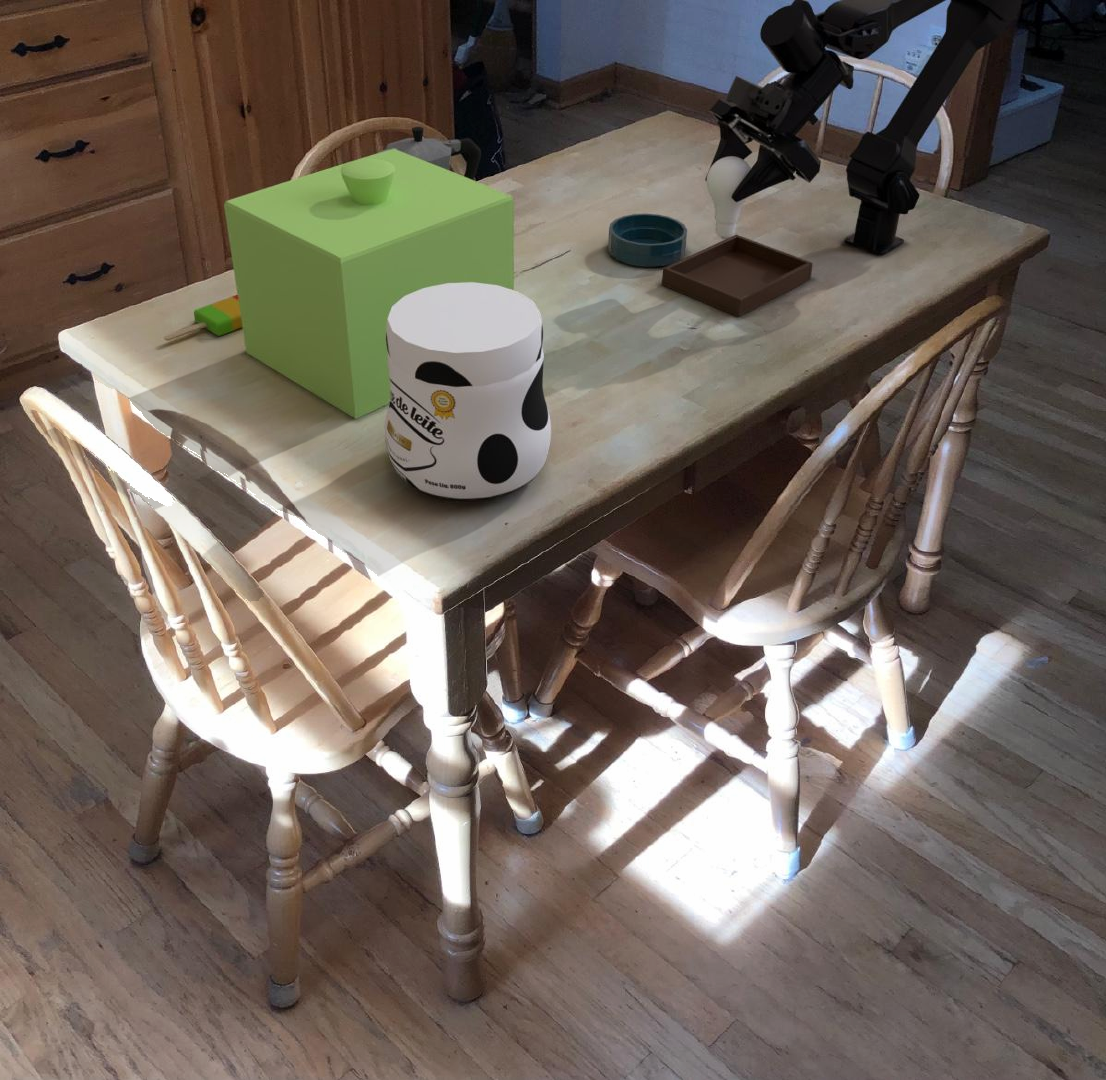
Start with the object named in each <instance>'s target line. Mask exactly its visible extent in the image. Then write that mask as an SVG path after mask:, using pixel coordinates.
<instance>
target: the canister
mask: <svg viewBox="0 0 1106 1080" xmlns="http://www.w3.org/2000/svg"><path fill="white" fill-rule="evenodd" d="M379 152H380V151H379ZM514 201H515V199H514V198H513V195H512V194H509V193H506V192H502V191H500V190H498V189H495V188H493V187H490V186H488V185H486V184H483V183H481V182H478V181H476V180H475V179H474V180H471V179H469V178H466V177H464V175H461V174H459V173H456V172H454V171H452V170H450V169H449V170H446V169H444V168H441V167H439V166H436V165H434V164H431V163H429V162H426V161H424V160H421V159H419V158H416V157H413V156H411V155H408V154H406V153H403V152H401V151H399V150H397V149H391V150H387V151H384V152H380V153H377V152H376V153H373V154H371V155H368V156H364V157H360V158H357V159H354V160H352V161H348V162H345V163H342V164H339V165H335V166H332V167H329V168H326V169H322V170H320V171H316V172H313V173H310V174H307V175H303V176H299V177H297V178H294V179H290V180H288V181H284V182H281V183H278V184H275V185H271V186H269V187H265V188H262V189H259V190H257V191H256V190H255V191H252V192H250V193H247V194H244V195H240V196H238V197H234V198H230V199H229V200H226V201H225V202H224V204H223V208H224V215H225V221H226V228H227V229H226V230H227V234H228V241H229V247H230V248H229V249H230V253H231V254H230V255H231V261H232V267H233V268H232V269H233V274H234V280H235V286H236V293H237V294H236V295H238V301H239V307H240V314H241V320H242V327H241V328H242V332H243V333H242V334H243V340H244V345H245V346H244V347H245V352H246V354H247V355H249V356H251V357H252V358H254V359H256V360H257V361H259V362H261V363H262V364H264V365H266V366H268V367H269V368H271V369H272V370H274V371H275V372H278V373H279V374H281V375H283V376H284V377H285V378H288V379H289V380H291V381H293V382H294V383H296V384H297V385H299V386H301V387H302V388H304V389H306V390H307V391H309V392H310V393H312V394H314V395H315V396H317V397H318V398H320V399H322V400H324V401H325V402H327V403H329V404H330V405H332V406H334V407H335V408H337V409H339V410H340V411H342V412H344V413H345V414H347V415H349V416H350V417H352V418H354V419H356V420H357V419H359V418H360V417H363V416H366V415H367V414H369V413H372V412H374V411H376V410H378V409H381V408H383V407H384V406H386V405H389V401H390V395H391V387H390V376H389V368H388V350H387V345H386V326H387V319H388V316H389V313H390V311H391V308H392V306H393V305H395V304H396V303H397V302H398V301H399V300H400V299H402V298H403V297H404V296H406V295H408V294H411V293H413V292H415V291H418V290H420V289H423V288H426V287H431V286H436V285H441V284H446V283H467V282H475V283H483V284H491V285H498V286H501V287H505V288H508V289H511V290H514V291H515V268H514V267H515V236H514V235H515V211H514V210H515V207H514V206H515V202H514Z"/></svg>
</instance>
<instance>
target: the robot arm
mask: <svg viewBox="0 0 1106 1080" xmlns="http://www.w3.org/2000/svg"><path fill="white" fill-rule="evenodd" d="M949 1H950V2H949V4H948V6H947V8H946V17H945V30H944V34H943V36H942V37H941V39H940V40H939V42H938V44H937V45H936V46H935V48H934V50H933V52H932V53H931V54H930V56H929V58H928V59H927V61H926V62H925V64H924V65H923V67H922V69H921V70H920V72H919V74H918V75H917V77H916V79H915V80H914V81H913V84H912V85H911V87H910V88H909V90H908V91H907V93H906V95H905V96H904V98H903V99H902V101H901V102H900V104H899V106H898V107H897V109H896V110H895V113H894V114H893V116H892V117H891V119H890V120H889V121H888V124H887V125H886V126H885V127H884V128H883V129H881V130H879V131H878V132H876V133H873V132H871V131H866V132H865V133H864V134H863V135H862V136H861V139H860V140H859V142H858V144H857V145H856V147H855V149H854V150H853V152H851V153H850V155H849V158H850V159H849V161H848V163H847V165H846V168H845V172H846V181H847V187H848V195H849V196H850V197H851V198H855V199H857V200H859V201H860V204H859V208H858V213H857V218H856V225H855V229H854V233H853V234H850V235H849V236H847V237H844V238H843V242H844V243H845V244H847V245H850V246H853V247H856V248H859V249H862V250H864V251H867V252H870V253H873V254H875V255H879V256H883V255H885V254H886V253H888V252H891V251H892V250H894V249H895V248H898V247H900V246H901V245H903V244H905V239H904V238H901V237H899V236H897V231H898V225H899V220H900V215H908V214H909V211H912V210H914V209H915V207H916V206H917V203H918V201H919V199H920V193H919V191H918V189H917V188H916V187H915V185H914V184H913V182H912V181H911V178H912V177H913V174H914V172H915V170H916V162H917V147H918V145H919V143H920V142H921V140H922V138H923V137H924V135H925V133H926V132H927V130H928V129H929V127H930V125H931V124H932V122H933V121H934V119H935V117H937V115H938V113H939V111H940V110H941V108H942V106H943V105H944V103H945V102H946V100H947V99H948V97H949V96H950V94H951V92H952V91H953V89H954V88H955V86H956V84H957V83H958V81H959V80H960V78H961V77H962V75H963V73H964V72H965V70H966V69H967V67H968V65H969V64H970V62H971V61H972V59H973V57H974V56H975V54H976V53H977V52H978V51H980V49H982V48H984V47H986V46H987V45H988V44H990V43H992V42H993V41H995V40H997V39H998V38H1000V36H1001V35H1002V34H1003V32H1005V30H1006V29H1007V28H1008V27H1009V25H1010V24H1011V22H1012V21H1013V20H1014V18H1016V16H1017V14H1018V12H1019V10H1020V7H1021V2H1022V1H1021V0H949ZM943 2H946V0H838V1H835V2H833V3H831V4H830V5H828V7H827V8H826V9H825V10H824V11H821V12H819V13H817V14H815V12H814V10H813V9H814V8H813V7H812V6H811V4H810V2H809V0H793V1H792V3H791V4H789V5H786V6H782V7H780V8H779V9H777V10H776V11H774V12H773V13H772V14H769V15H767V17H766V19H765V20H764V22H763V23H762V25H761V28H760V33H759V35H760V36H759V37H760V40H761V42H762V43H763V44H764V46H765V47H766V48H767V50H768V51H769V52H770V54H771V55H772V57H773V58H774V59H775V60H776V62H777V63H778V65H779V66H780V67H781V69H782V70H783V71H784V72H786V73H788V75H787V76H786V77H785V78H784V80H783V81H782V82H781V83H780V82H778V81H777V80H774V81H771V82H767V83H765V84H764V85H763V86H761V85H759V84H757V83H754V82H751V81H749V80H747V79H744V78H743V77H740V76H737V75H735V77H734V79H733V81H732V84H731V85H730V88H729V90H728V92H727V94H726V96H725V97H724V98H719V99H718V100H716V102H715V103H714V104H713V106H712V107H711V108H710V109H709V113H710V114H711V115H712V116H713V117H714V119H716V120H717V122H716V125H717V126H718V127H719V134H720V135H719V137H720V138H719V142H718V145H717V149H716V151H715V155H714V157H713V159H712V161H711V164H710V166H709V169H708V170H707V174H706V176H705V179H704V180H705V182H706V181H707V175H708V172H709V170H710V168H711V167H712V165H713V164H714V163H715V162H716V161H718V160H720V159H722V158H724V157H728V156H734V157H738V158H741V159H743V160H744V161H745V160H746V159H747V158H748V157H749V156H750V155H752V154H753V151H752V150H751V149H750V148H749V146H747V144H749V143H751V142H753V141H755V142H757V143H758V144H759V147H758V153H757V158H756V161H755V163H754V164H753V165H752V167H751V169H750V171H749V172H748V173H747V175H746V176H745V177H744V179H743V180H742V181H741V183H740V184H739V185H738V187H737V188H736V190H735V191H734V193H733V195H732V196H731V198H732V199H733V200H734V201H735V202H739V201H741V200H743V199H745V198H747V199H748V198H750V197H751V196H753V195H756V194H757V193H758V194H759V193H760V192H762V191H764V190H766V189H769V188H771V187H774V186H776V185H779V184H781V183H784V182H786V181H789V180H791V181H795V180H796V176H797V177H799V178H800V179H802V180H804V181H806V182H807V183H809V184H811V182H812V181H813V180H814V178H816V176H817V175H818V174H819V173H820V171H821V164H822V161H821V159H820V158H819V157H818V155H816V153H815V152H814V151H813V149H812V148H811V147H810V146H809V145H808V144H807V142H806V141H805V140H804V139H802V138H800V137H799V136H797V135H798V134H799V132H800V131H802V129H803V128H804V127H805V126H806V124H809V125H811V126H815V124H816V123H817V122H818V121H819V118H818V117H817V116H816V112H817V111H818V110H819V109H820V108H821V107H822V105H823V104H824V103H825V102H826V101H827V99H828V98H829V97H830V96H831V95H832V94H833V93H834V91H835V90H836V89H837V87H839V85H840V86H842V87H844V88H846V89H848V90H852V89H853V88H854V82H855V81H854V79H855V78H854V70H855V66H854V65H852V64H850V63H848V62H846V61H842V59H841V58H840V56H839V55H838V54H837V53H840V54H842V55H845V56H848V57H851V58H853V59H856V60H865V59H867V58H869V57H870V56H872V55H874V53H876V52H877V51H878V50H880V49H881V48H882V47H884V46H885V45H886V44H887V43H888V42H889V41H890V38H891V36H892V33H893V31H895V30H896V29H897V28H899V27H900V26H902V25H904V24H905V23H907V22H909V21H911V20H913V19H915V18H916V17H918V16H920V15H922V14H923V13H926V12H927V11H930V10H931V9H933V8H934V7H937V6H939V5H941V4H942V3H943Z"/></svg>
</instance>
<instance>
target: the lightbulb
mask: <svg viewBox="0 0 1106 1080" xmlns="http://www.w3.org/2000/svg"><path fill="white" fill-rule="evenodd" d="M751 168H752V167H751V166H750V165H749V163H748V162H747V161H746V160H745V159H744V160H743V159H741V158H738V157H734V156H728V157H724V158H722V159H720V160H718V161H716V162H715V163H714V164H713V165H712V167H711V168H710V167H709V169H710V170H709V169H708V171H709V172H708V171H707V173H708V175H707V174H706V176H707V181H705V182H706V189H707V191H708V194H709V196H710V198H711V200H712V204H713V206H714V220H715V221H716V222H715V234H716V235H717V237H720V238H721V239H722V240H725V239H728V238H730V237H732V236H734V235H736V234H735V233H736V227H737V222H738V221H739V218H740V212H741V209H742V207H743V205H744V203H745V202H746V200H747V199H748V197H747V198H745V199H743V200H741V201H739V202H735V201H734V200H733V199H732V198H731V196H732V195H733V193H734V191H735V190H736V188H737V187H738V185H739V184H740V183H741V181H742V180H743V179H744V177H745V176H746V175H747V173H748V172H749V171H750V169H751Z"/></svg>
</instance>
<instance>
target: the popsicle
mask: <svg viewBox="0 0 1106 1080" xmlns="http://www.w3.org/2000/svg"><path fill="white" fill-rule="evenodd" d="M193 318H194V321H195V323H196V324H193V325H190V326H187V327H184V328H183V329H179V330H177V331H174V332H171V333H169V334H166V335H164V336H163V339H164V341H166V342H168V341H169V342H170V341H172V340H175V339H178V338H180V337H183V336H186V335H188V334H191V333H194V332H196V331H198V330H201V329H204V328H205V330H208V331H210V332H211V333H213V334H214V335H216V336H218V337H220V336H223V335H227V334H229V333H231V332H234V331H236V330H238V329H242V328H243V327H242V320H241V314H240V307H239V301H238V294H235V295H232V296H230V297H227V298H224V299H221V300H218V301H216V302H213V303H210V304H207V305H205V306H202V307H199V308H196V309H195V310H194V311H193Z"/></svg>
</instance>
